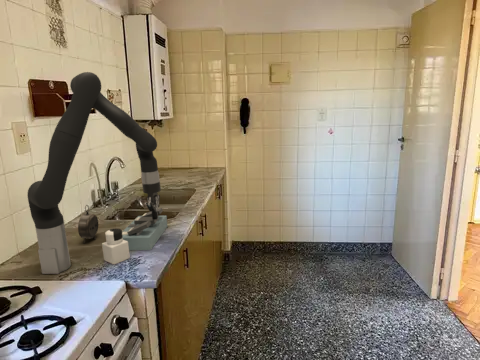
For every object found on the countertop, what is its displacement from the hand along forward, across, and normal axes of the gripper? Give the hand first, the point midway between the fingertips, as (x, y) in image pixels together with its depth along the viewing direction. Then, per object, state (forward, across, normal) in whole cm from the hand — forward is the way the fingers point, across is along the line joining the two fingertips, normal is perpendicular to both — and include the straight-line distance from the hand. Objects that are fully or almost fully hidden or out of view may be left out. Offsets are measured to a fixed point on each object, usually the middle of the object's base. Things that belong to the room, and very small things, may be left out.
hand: (155, 218), depth 153 cm
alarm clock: (+8, -2, +30) cm, 31 cm away
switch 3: (0, -9, +4) cm, 10 cm away
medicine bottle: (+8, -22, +10) cm, 25 cm away
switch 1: (+1, +9, +4) cm, 10 cm away
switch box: (+9, 0, +6) cm, 10 cm away
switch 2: (+1, 0, +4) cm, 4 cm away
